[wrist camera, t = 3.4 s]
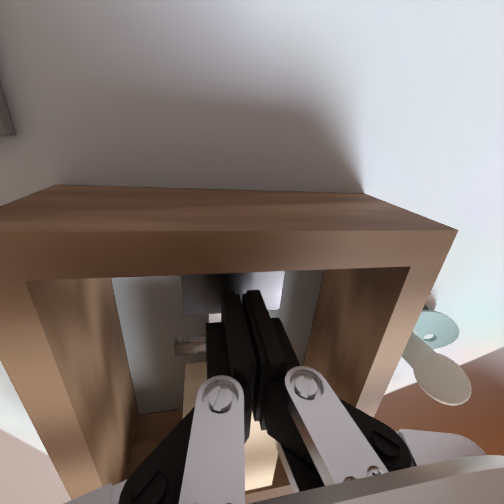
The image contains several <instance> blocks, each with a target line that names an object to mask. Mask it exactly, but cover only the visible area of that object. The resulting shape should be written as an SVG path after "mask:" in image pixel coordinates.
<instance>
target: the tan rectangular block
mask: <svg viewBox="0 0 504 504" xmlns="http://www.w3.org/2000/svg"><path fill="white" fill-rule="evenodd" d="M205 381H207V366H206V362H198V363H189V364H185V382H184V401H183V418H184V417H185V416H186V415H187V414H188V413H189V412H190V411H191V410H192V408H193V407H194V406H195V404H196V398H197V394H198V391H199V388H200V387H201V386H202V384H203V383H204V382H205ZM244 449H245V491H247V490H252V489H256V488H261V487H265V486H270V485H272V481H273V476H274V471H275V466H276V462H277V457H278V451H277V448H276V445H275V439H273V438H272V437H271V436H269V435H268V434H267V430H263V431H261V427H260V423H259V421H256V422H255V421H254V418H253V413H252V416H251V426H250V435H249V438H248V440H247V441H246V443H245V444H244Z"/></svg>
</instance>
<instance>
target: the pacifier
mask: <svg viewBox="0 0 504 504" xmlns="http://www.w3.org/2000/svg"><path fill="white" fill-rule="evenodd" d="M435 305H436V303H435V299H434V297H433V296H432V295H430V294H429V296H428V298H427V301H426V303H425V305H424V307H423V309H422V312H421V314H420V316H419V318H418V320H417V323H416V325H415V327H414V329H413V332H412V334H411V336H410V338H409V340H408V343H407V345H406V347H405V349H404V351H403V354H402V357H403V358H404V359H405V361H406V362H407V363H408V364H409V365H410V366H411V367H412V368H413V370H414V375H415V378H416V380H417V382H418V384H419V385H420V387H421V388H422V389H423V390H424V391H425V392H426V393H427V394H428V395H429V396H431V397H432V398H433V399H435V400H437V401H439V402H441V403H444V404H448V405H459V404H462V403H464V402H466V401H467V400H468V399H469V397H470V395H471V385H470V381H469V379H468V377H467V375H466V374H465V372H464V371H463V370H462V369H461V368H460V366H459V365H458V364H456V363H455V362H454V361H453V360H451V359H449V358H448V357H446V356H444V355H441V354H439V353H436V352H435V351H434V350H433V349H436V348H440V347H444V346H446V345H448V344H451V343H452V342H454V341H455V340H456V339H457V338H458V335H459V328H458V326H457V324H456V323H455V322H454V321H453V320H452V319H451V318H449V317H448V316H446V315H445V314H442V313H440V312H436V311H434V309H435ZM427 334H434V337H433V338H430V339H424V336H425V335H427Z"/></svg>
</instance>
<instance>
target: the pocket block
mask: <svg viewBox="0 0 504 504" xmlns="http://www.w3.org/2000/svg"><path fill="white" fill-rule="evenodd" d="M457 232H458V230H456V229H454V228H451V227H449V226H446V225H444V224H441V223H438V222H436V221H433V220H431V219H428V218H426V217H423V216H421V215H418V214H415V213H413V212H410V211H408V210H405V209H403V208H400V207H398V206H395V205H392V204H390V203H387V202H385V201H382V200H380V199H377V198H375V197H372V196H369V195H367V194H356V193H322V192H289V191H255V190H222V189H188V188H154V187H121V186H87V185H54V186H51V187H49V188H46V189H44V190H41V191H39V192H36V193H33V194H31V195H28V196H26V197H23V198H21V199H18V200H16V201H13V202H11V203H8V204H6V205H3V206H1V207H0V360H1V362H2V364H3V366H4V368H5V370H6V372H7V374H8V376H9V378H10V380H11V382H12V384H13V386H14V388H15V390H16V392H17V394H18V396H19V398H20V400H21V402H22V403H23V405H24V407H25V409H26V411H27V413H28V415H29V417H30V419H31V421H32V423H33V425H34V427H35V429H36V431H37V433H38V435H39V437H40V439H41V441H42V443H43V445H44V447H45V449H46V451H47V453H48V455H49V457H50V459H51V461H52V462H53V464H54V466H55V468H56V470H57V472H58V474H59V476H60V478H61V480H62V482H63V484H64V486H65V488H66V490H67V492H68V494H69V496H70V498H71V500H73V499H75V498H78V497H80V496H82V495H84V494H87V493H89V492H91V491H94V490H96V489H98V488H100V487H103V486H105V485H107V484H110V483H112V485H113V486H114V485H116V484H118V483H120V482H123V481H125V480H127V479H128V478H129V477H130V476H131V474H132V473H133V472H134V471H135V470H136V468H137V467H138V466H139V465H140V464H141V463H142V462H143V461H144V460H145V459H146V458H147V457H148V456H149V455H150V453H151V452H152V451H153V450H154V449H155V448H156V447H157V446H158V445H159V444H160V443H161V442H162V441H163V440H164V438H165V437H166V436H167V435H168V434H169V433H170V432H171V431H172V430H173V429H174V428H175V427H176V426H177V425H178V423H179V422H180V421H181V420H182V419H183V409H179V410H172V411H165V412H158V413H151V414H144V415H139V414H138V410H137V405H136V400H135V395H134V390H133V385H132V380H131V375H130V370H129V365H128V360H127V355H126V350H125V345H124V340H123V335H122V330H121V326H120V321H119V316H118V311H117V306H116V301H115V296H114V291H113V286H112V281H111V278H115V277H142V276H168V275H194V274H221V273H247V272H274V271H300V270H325V271H324V275H323V280H322V284H321V288H320V293H319V297H318V302H317V306H316V311H315V315H314V320H313V324H312V329H311V333H310V338H309V342H308V347H307V351H306V355H305V360H304V364H303V366H306V367H310V368H313V369H315V370H316V371H318V372H319V373H320V374H321V375H322V376H323V377H324V378H325V379H326V381H327V382H328V384H329V385H330V387H331V388H332V390H333V391H334V393H335V394H336V395H337V397H338V398H340V399H342V400H343V401H345V402H347V403H349V404H350V405H352V406H354V407H356V408H357V409H359V410H361V411H363V412H364V413H366V414H368V415H370V416H371V417H373V418H374V415H375V413H376V411H377V409H378V406H379V404H380V402H381V400H382V398H383V396H384V393H385V391H386V389H387V387H388V385H389V382H390V380H391V378H392V376H393V373H394V371H395V369H396V367H397V365H398V362H399V360H400V358H401V356H402V354H403V351H404V349H405V347H406V345H407V343H408V340H409V338H410V336H411V334H412V332H413V329H414V327H415V325H416V323H417V320H418V318H419V316H420V314H421V312H422V309H423V307H424V305H425V303H426V301H427V298H428V296H429V294H430V292H431V290H432V287H433V285H434V283H435V281H436V279H437V276H438V274H439V272H440V270H441V268H442V265H443V263H444V261H445V259H446V256H447V254H448V252H449V250H450V248H451V245H452V243H453V241H454V239H455V237H456V234H457ZM288 494H293V490H292V487H291V485H290V482H289V480H288V477H287V474H286V472H285V469H284V467H283V464H282V461H281V459H280V456H279V454H278V457H277V462H276V466H275V471H274V476H273V481H272V485H270V486H265V487H261V488H256V489H252V490H247V491H245V504H249V503H253V502H257V501H262V500H266V499H270V498H275V497H279V496H284V495H288Z"/></svg>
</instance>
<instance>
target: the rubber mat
mask: <svg viewBox="0 0 504 504" xmlns="http://www.w3.org/2000/svg"><path fill="white" fill-rule="evenodd" d="M0 135H16V134H15V130H14V127H13V124H12V120H11V117H10V114H9V111H8V107H7V104H6V101H5V98H4V94H3V91H2V88H1V84H0Z"/></svg>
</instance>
